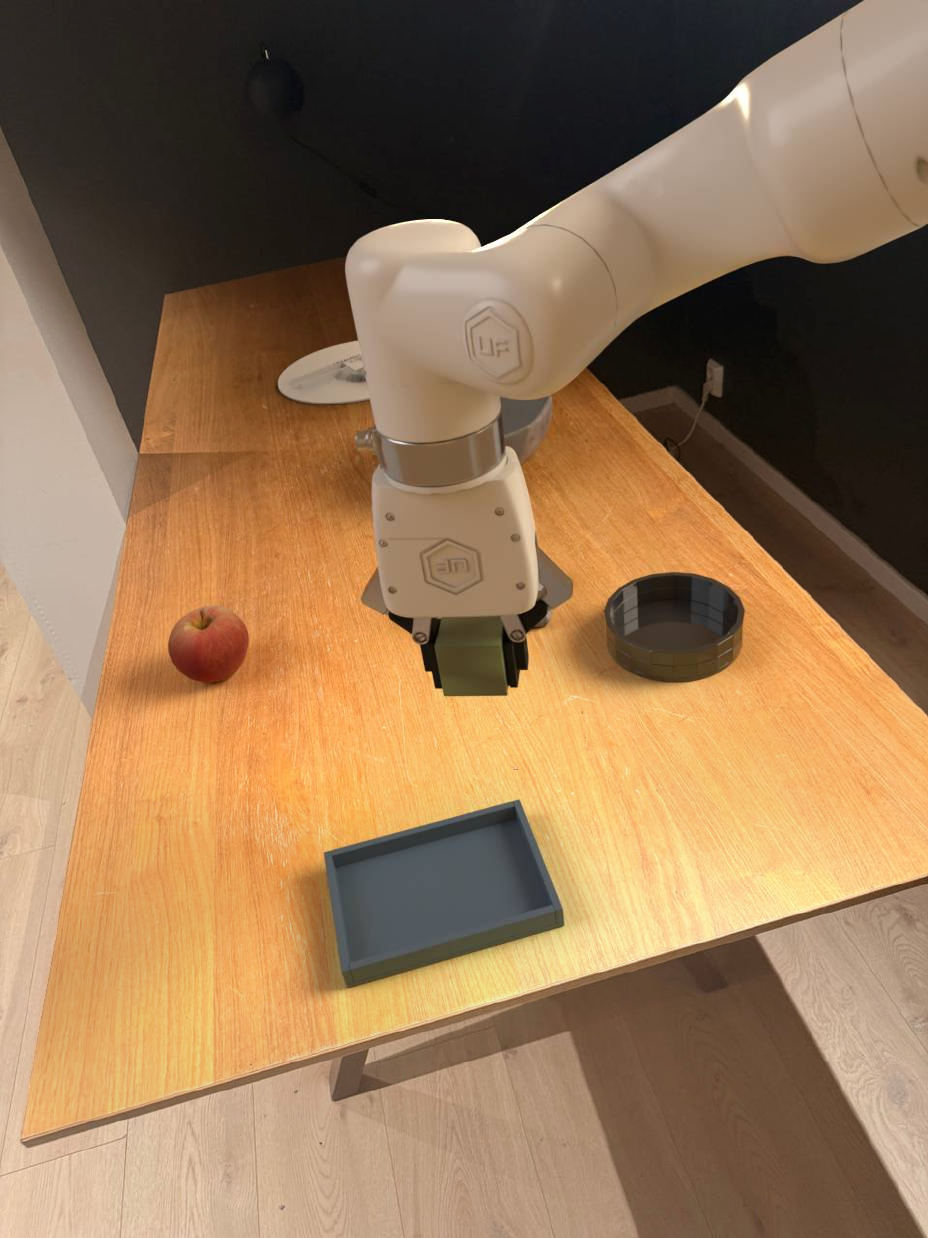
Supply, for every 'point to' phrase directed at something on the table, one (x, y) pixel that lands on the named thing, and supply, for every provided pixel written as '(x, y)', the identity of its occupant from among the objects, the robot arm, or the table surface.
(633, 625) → the pan
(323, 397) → the plate
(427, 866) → the tray
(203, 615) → the apple
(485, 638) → the block
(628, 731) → the table surface
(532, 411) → the bowl
